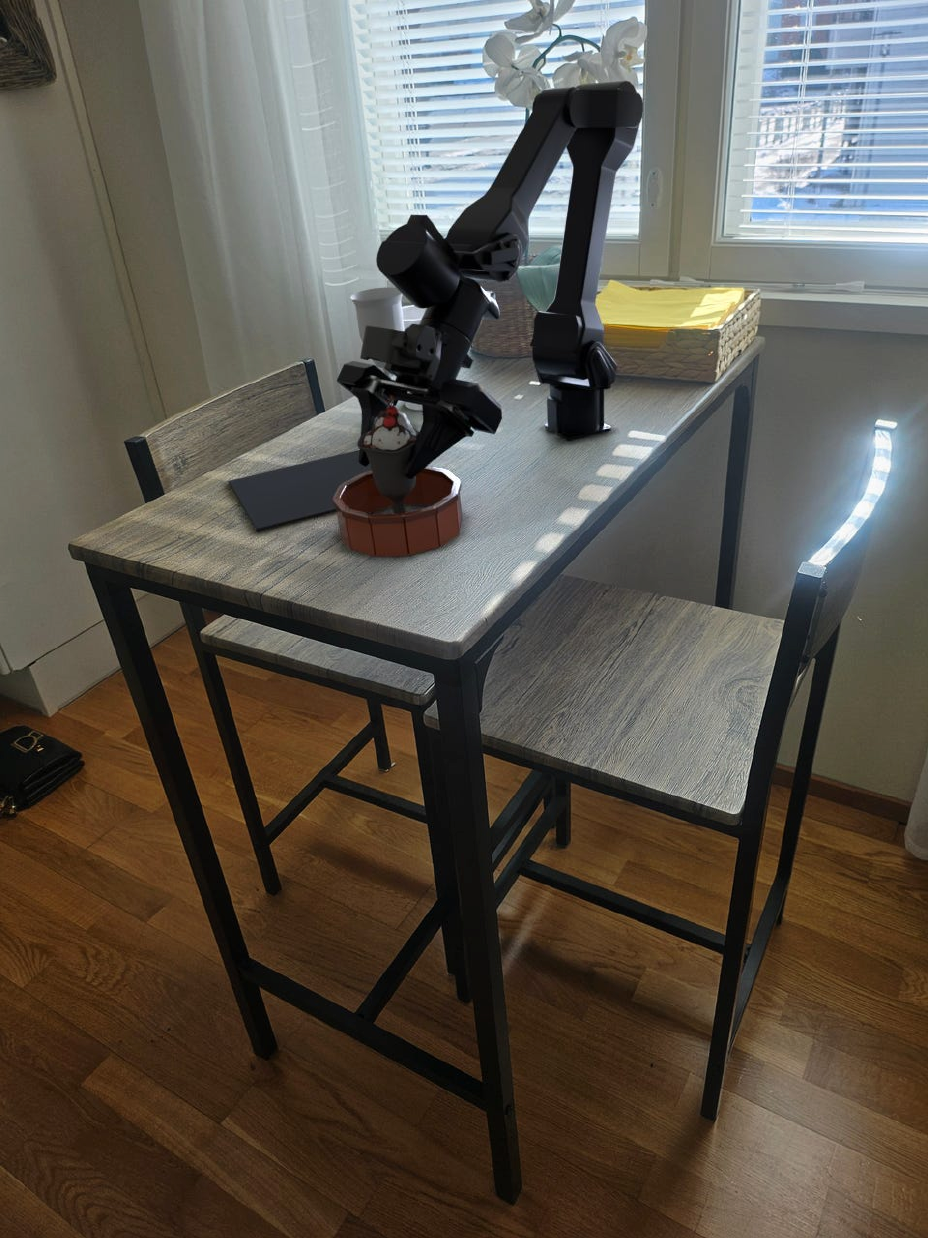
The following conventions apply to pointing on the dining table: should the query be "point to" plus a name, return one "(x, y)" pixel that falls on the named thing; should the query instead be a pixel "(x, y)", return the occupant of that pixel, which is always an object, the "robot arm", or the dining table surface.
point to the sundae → (390, 454)
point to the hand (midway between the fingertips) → (383, 470)
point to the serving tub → (401, 529)
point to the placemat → (295, 490)
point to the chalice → (379, 314)
